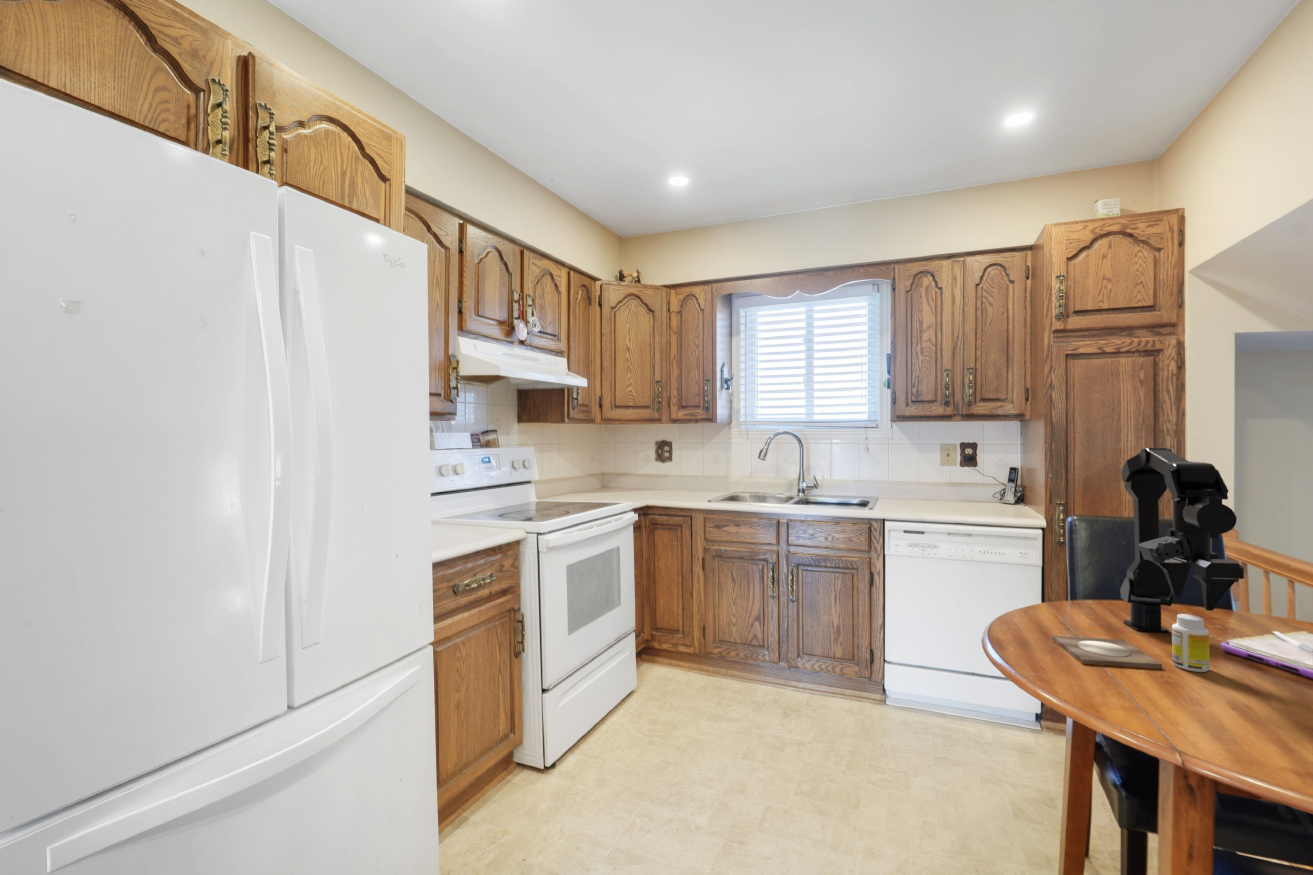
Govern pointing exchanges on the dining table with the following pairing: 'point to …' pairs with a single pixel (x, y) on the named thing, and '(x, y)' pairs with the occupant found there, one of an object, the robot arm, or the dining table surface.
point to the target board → (1106, 652)
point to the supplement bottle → (1190, 643)
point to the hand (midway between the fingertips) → (1192, 603)
